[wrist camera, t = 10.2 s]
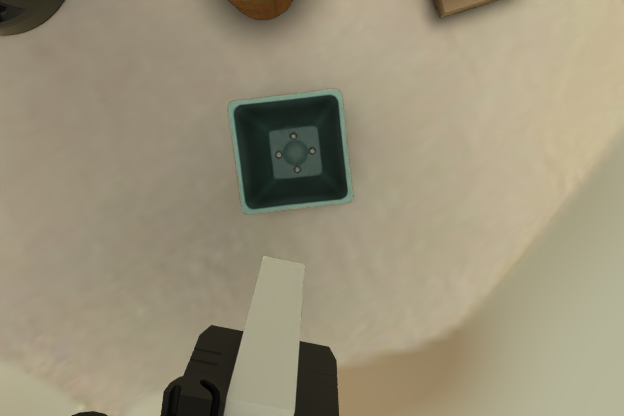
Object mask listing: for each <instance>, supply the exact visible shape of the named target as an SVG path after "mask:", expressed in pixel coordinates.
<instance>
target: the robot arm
mask: <svg viewBox="0 0 624 416" xmlns="http://www.w3.org/2000/svg"><path fill="white" fill-rule="evenodd" d="M63 1H64V0H0V35H12V34H17V33H21V32H25V31H27V30H30V29H32V28H34V27H36V26H38V25H40V24H41V23H43V22H44V21H45V20H47V19H48V18H49V17H50V16H51V15H52V14H53V13H54V12H55V11H56V10H57V9H58V8H59V6H60V5H61V4H62V2H63ZM304 270H305V264H302V263H297V262H292V261H287V260H282V259H277V258H272V257H268V256H263V259H262V263H261V267H260V271H259V275H258V278H257V282H256V286H255V290H254V294H253V298H252V301H251V305H250V309H249V313H248V317H247V321H246V325H245V328H244V331H239V330H234V329H229V328H223V327H218V326H213V325H211V326H210V327H209V328H207V329H206V330H205V331H204V332H203V333H202V334H200V336H199V338H198V341H197V343H196V346H195V348H194V351H193V353H192V356H191V358H190V361H189V363H188V365H187V368H186V370H185V373H184V375H183V376H182V377H179V378H177V379H176V380H174V381H172V382H171V383H170V384H169V385H168V386H167V388H166V389H165V391H164V394H163V402H162V410H161V416H339V405H338V388H337V385H338V384H337V364H336V359H335V357H334V355H333V353H332V351H331V350H330V348H329V347H327V346H322V345H317V344H312V343H307V342H302V341H300V328H301V314H302V299H303V284H304ZM72 416H107V415H106V414H103V413H98V412H94V411H92V412H81V413H77V414H75V415H72Z"/></svg>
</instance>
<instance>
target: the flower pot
mask: <svg viewBox="0 0 624 416" xmlns="http://www.w3.org/2000/svg"><path fill="white" fill-rule="evenodd" d="M228 116H229V122H230V128H231V135H232V142H233V148H234V155H235V163H236V171H237V179H238V186H239V194H240V203H241V208H242V211H243V213H244V214H246V215H252V214H259V213H267V212H275V211H282V210H290V209H299V208H308V207H316V206H326V205H337V204H346V203H349V202H351V201H352V200H353V187H352V180H351V172H350V163H349V155H348V146H347V137H346V127H345V116H344V103H343V96H342V92H341V91H340V90H339V89H326V90H319V91H311V92H303V93H295V94H287V95H278V96H270V97H261V98H252V99H242V100H234V101H232V102H230V103H229V104H228ZM292 134H295V135H296V138H295V139H292V138H291V135H292ZM310 149H314V150H315V153H314V154H311V153H310ZM278 152H280V153H281V154H282V156H281V157H280V158H278V157H277V156H276V154H277V153H278ZM296 167H299V168H300V172H296V171H295V168H296Z"/></svg>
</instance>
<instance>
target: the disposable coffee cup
mask: <svg viewBox="0 0 624 416" xmlns="http://www.w3.org/2000/svg"><path fill="white" fill-rule="evenodd" d="M229 1H230V2H231V3H232V4H233V5H235V6H236V7H237V8H238V9H239V10H240V11H241V12H242V13H244V14H245V15H247V16H249V17H251V18H254V19H261V20H267V19H272V18H275V17H277V16H279V15H280V14H282V13H283V12H285V11H286V10H287V9H288V7H289V6H290V5H291V3H292V1H293V0H229Z"/></svg>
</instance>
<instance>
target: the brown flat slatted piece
mask: <svg viewBox="0 0 624 416" xmlns="http://www.w3.org/2000/svg"><path fill="white" fill-rule="evenodd" d="M494 1H497V0H434V3H435V7H436V10H437V9H438V12H439V16H440V18H442V17H445V16H448V15H452V14H455V13H458V12H461V11H465V10H468V9H471V8H474V7H478V6H481V5H484V4H487V3H491V2H494Z"/></svg>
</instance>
